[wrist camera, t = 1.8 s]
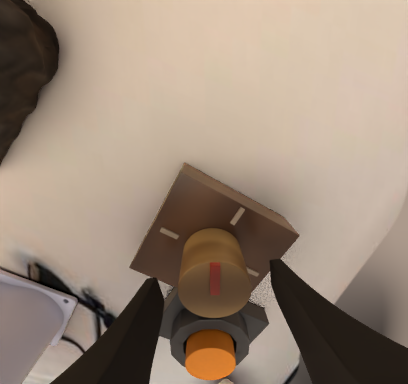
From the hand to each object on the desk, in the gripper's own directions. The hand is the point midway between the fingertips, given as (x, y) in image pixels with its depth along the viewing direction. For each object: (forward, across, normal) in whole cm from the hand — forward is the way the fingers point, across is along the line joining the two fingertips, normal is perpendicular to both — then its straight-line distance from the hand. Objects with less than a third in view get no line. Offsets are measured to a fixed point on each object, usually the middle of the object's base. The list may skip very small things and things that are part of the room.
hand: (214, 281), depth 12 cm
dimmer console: (+6, 0, 0) cm, 6 cm away
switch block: (+6, +2, +10) cm, 12 cm away
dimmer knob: (+3, 0, 0) cm, 3 cm away
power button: (+3, +2, +10) cm, 11 cm away
